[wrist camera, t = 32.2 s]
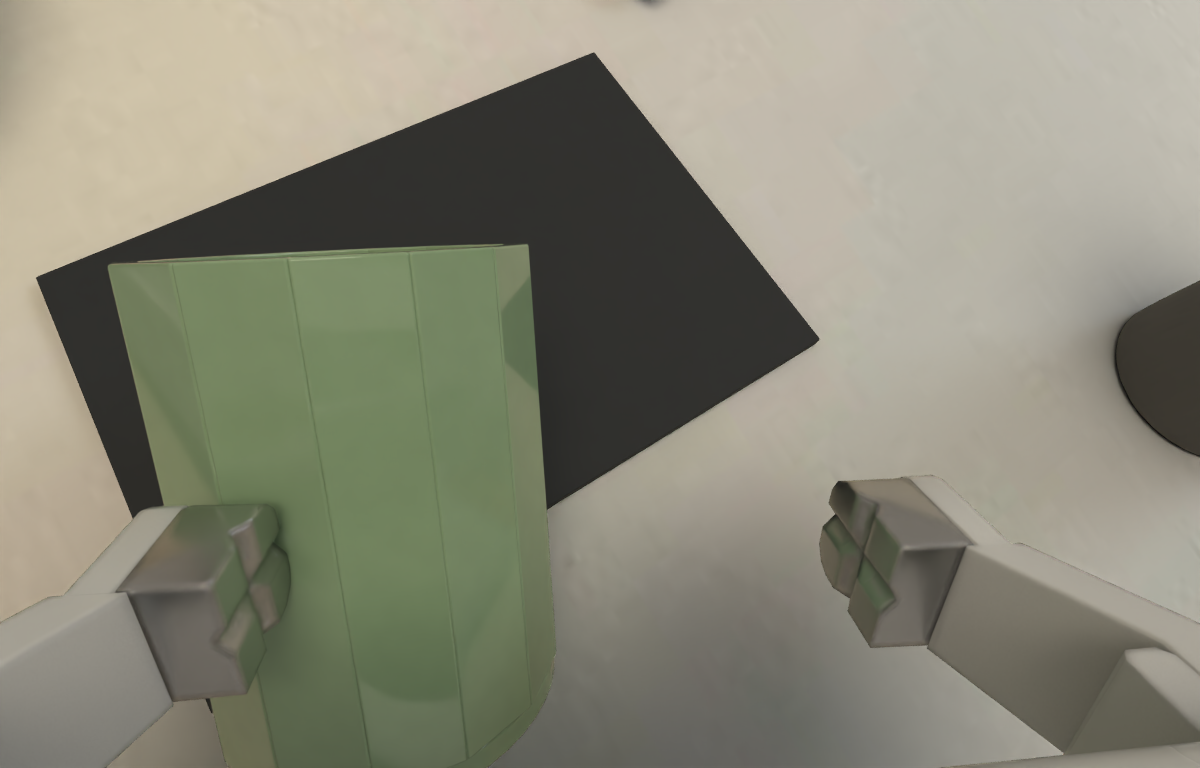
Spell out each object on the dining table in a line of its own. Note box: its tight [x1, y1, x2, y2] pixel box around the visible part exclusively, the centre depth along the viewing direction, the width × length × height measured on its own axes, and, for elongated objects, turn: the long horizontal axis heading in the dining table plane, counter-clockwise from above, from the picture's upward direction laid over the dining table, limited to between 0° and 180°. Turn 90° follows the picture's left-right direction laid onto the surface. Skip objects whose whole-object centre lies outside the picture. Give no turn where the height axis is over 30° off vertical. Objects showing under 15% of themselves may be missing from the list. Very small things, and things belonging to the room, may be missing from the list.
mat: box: [36, 53, 819, 713], centre depth 19 cm, size 20×14×1 cm
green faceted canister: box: [108, 243, 556, 768], centre depth 12 cm, size 7×7×9 cm
